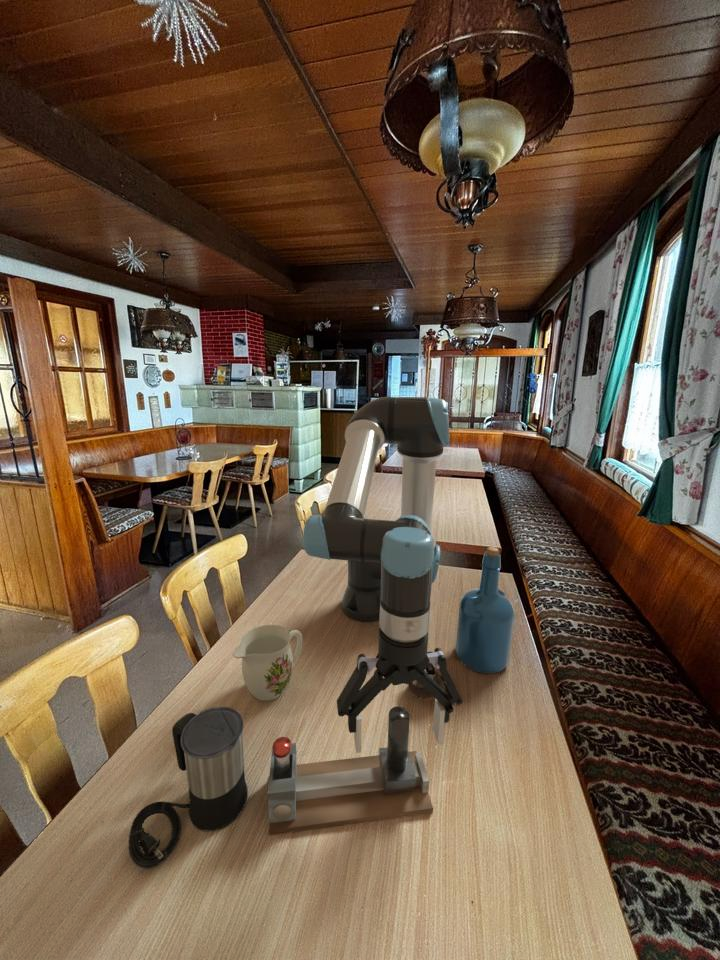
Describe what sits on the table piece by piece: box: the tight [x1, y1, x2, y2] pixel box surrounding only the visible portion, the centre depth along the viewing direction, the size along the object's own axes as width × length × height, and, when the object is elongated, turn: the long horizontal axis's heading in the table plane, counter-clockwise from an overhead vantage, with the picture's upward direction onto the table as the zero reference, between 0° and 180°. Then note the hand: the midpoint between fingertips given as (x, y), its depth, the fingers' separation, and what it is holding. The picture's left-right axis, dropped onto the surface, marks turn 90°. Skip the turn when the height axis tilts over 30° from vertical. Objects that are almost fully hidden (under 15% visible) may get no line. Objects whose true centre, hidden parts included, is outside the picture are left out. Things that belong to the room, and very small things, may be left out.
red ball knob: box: [272, 736, 292, 776], centre depth 62 cm, size 3×3×5 cm
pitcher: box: [232, 624, 303, 702], centre depth 86 cm, size 11×18×14 cm, turn 141°
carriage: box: [378, 705, 416, 795], centre depth 64 cm, size 6×5×14 cm
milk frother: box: [128, 705, 249, 869], centre depth 59 cm, size 14×16×15 cm
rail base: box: [267, 742, 434, 836], centre depth 65 cm, size 10×26×7 cm, turn 98°
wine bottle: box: [455, 546, 516, 675], centre depth 94 cm, size 14×13×30 cm
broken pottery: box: [407, 650, 450, 701], centre depth 88 cm, size 12×10×8 cm
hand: (397, 740), depth 64 cm, fingers open, 13 cm apart
